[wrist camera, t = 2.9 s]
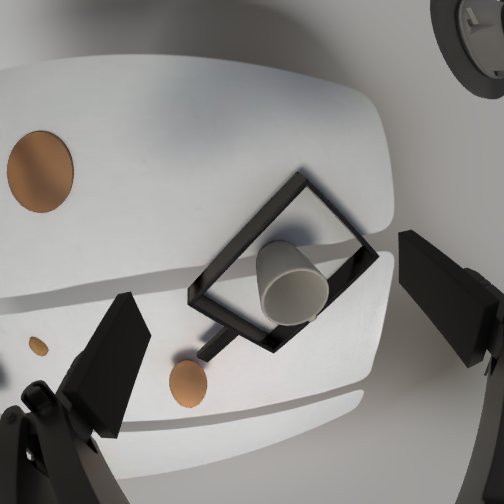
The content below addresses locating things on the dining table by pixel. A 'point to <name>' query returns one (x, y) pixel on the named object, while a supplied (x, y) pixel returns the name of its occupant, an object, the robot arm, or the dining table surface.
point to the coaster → (40, 172)
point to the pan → (239, 245)
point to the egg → (188, 383)
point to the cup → (289, 285)
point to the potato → (38, 346)
